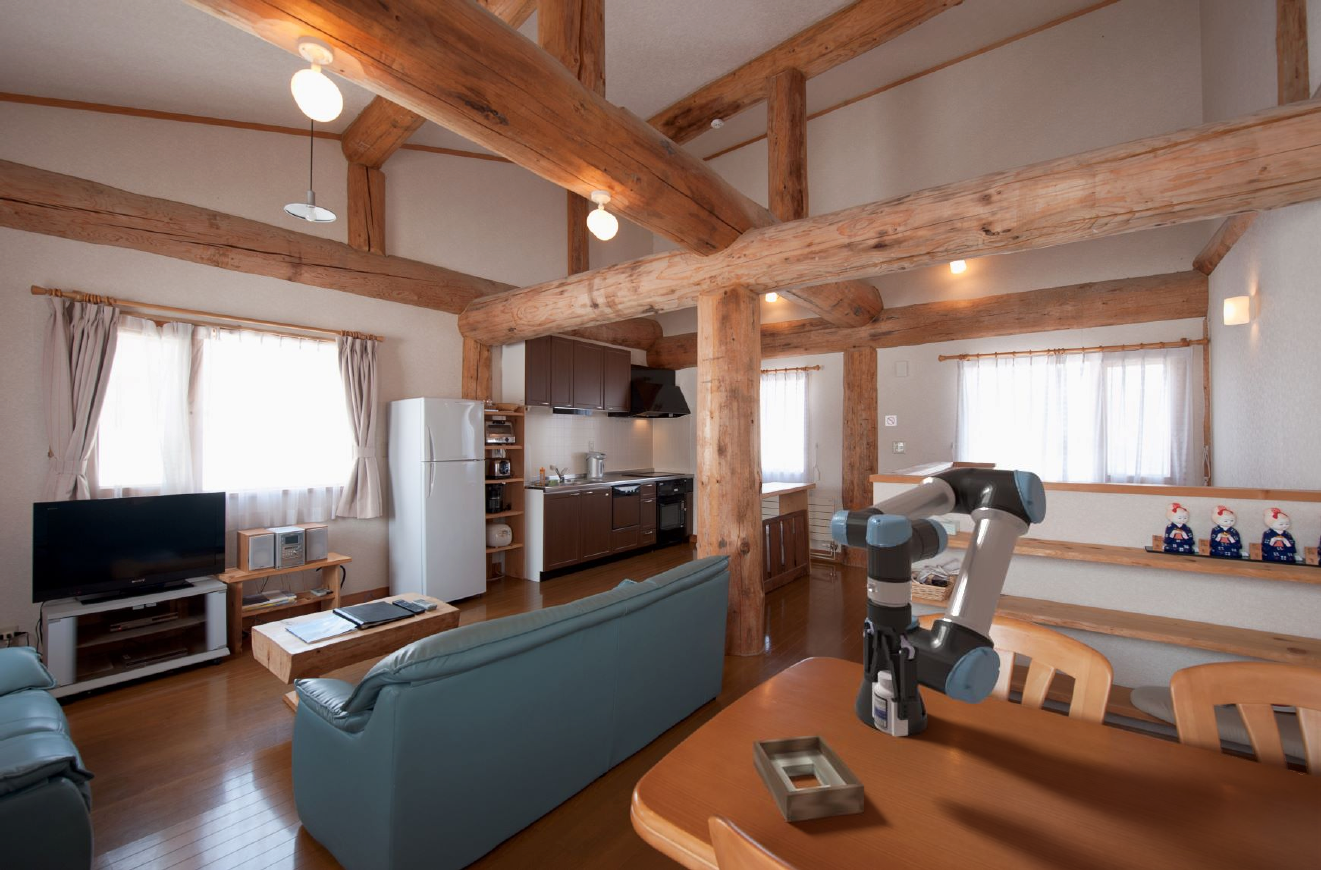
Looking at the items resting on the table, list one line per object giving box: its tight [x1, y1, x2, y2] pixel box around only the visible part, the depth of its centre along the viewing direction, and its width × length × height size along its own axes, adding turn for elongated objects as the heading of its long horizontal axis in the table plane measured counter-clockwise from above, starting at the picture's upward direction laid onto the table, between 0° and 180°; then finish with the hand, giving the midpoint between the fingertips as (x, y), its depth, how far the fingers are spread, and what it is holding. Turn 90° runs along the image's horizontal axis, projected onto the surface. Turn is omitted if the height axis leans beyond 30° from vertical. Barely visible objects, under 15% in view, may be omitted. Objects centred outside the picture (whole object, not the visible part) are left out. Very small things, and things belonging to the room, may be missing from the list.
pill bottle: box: [874, 670, 895, 735], centre depth 100 cm, size 5×5×10 cm
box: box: [752, 734, 865, 823], centre depth 100 cm, size 14×16×4 cm
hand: (889, 725), depth 100 cm, fingers closed on pill bottle, 5 cm apart
